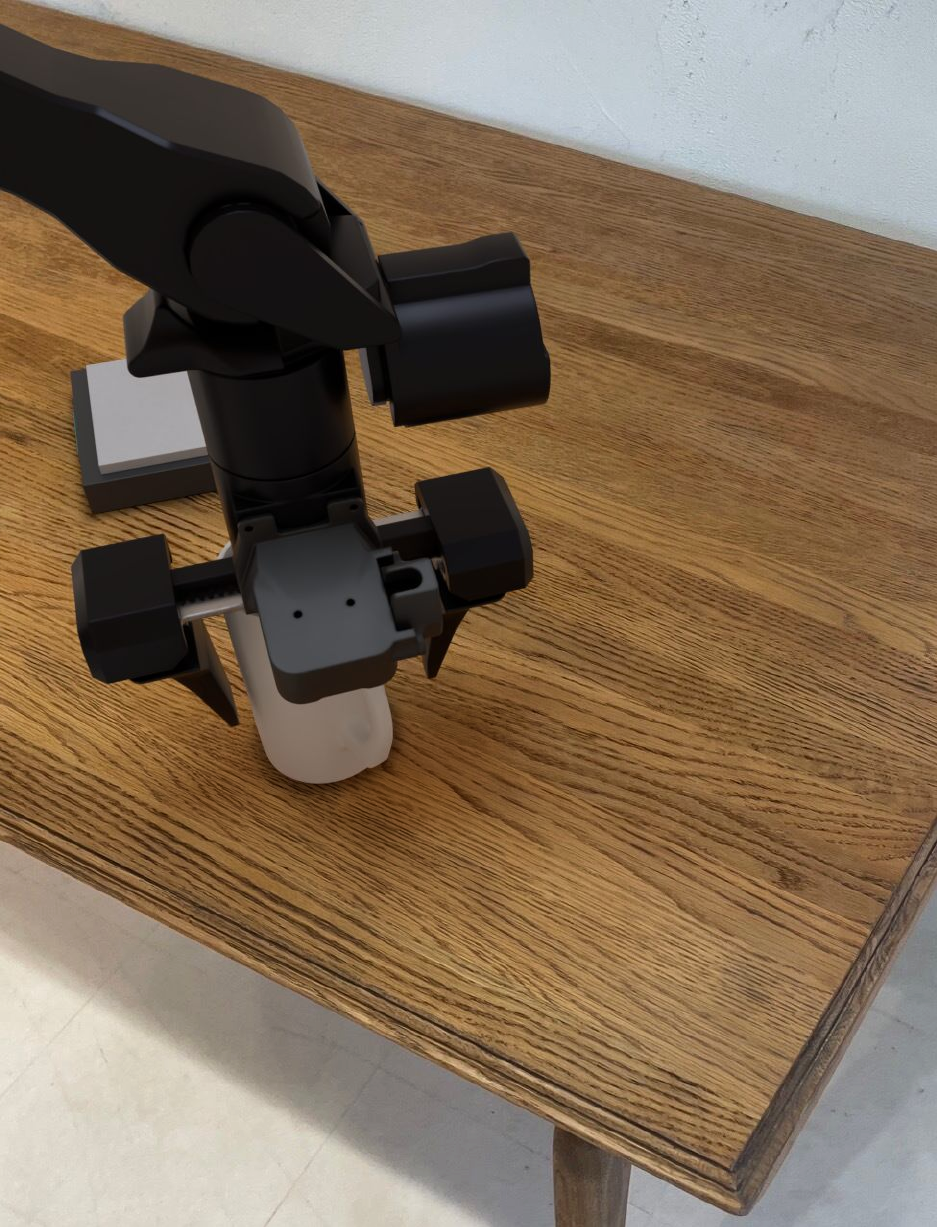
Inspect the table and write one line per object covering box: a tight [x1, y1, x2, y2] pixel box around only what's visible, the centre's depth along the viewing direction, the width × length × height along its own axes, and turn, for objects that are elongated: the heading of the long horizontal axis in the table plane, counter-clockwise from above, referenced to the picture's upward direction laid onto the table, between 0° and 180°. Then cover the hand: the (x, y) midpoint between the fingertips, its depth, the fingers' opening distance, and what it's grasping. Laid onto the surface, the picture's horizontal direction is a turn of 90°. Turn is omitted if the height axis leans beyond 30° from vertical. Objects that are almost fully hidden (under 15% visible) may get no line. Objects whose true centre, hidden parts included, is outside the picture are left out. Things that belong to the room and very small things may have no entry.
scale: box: [69, 358, 217, 515], centre depth 81 cm, size 12×12×3 cm
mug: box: [216, 540, 394, 785], centre depth 61 cm, size 10×7×12 cm, turn 40°
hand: (333, 695), depth 62 cm, fingers open, 9 cm apart
